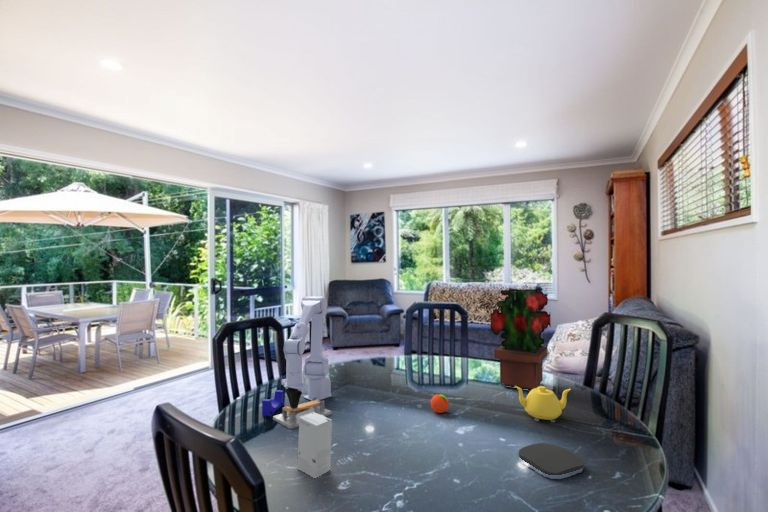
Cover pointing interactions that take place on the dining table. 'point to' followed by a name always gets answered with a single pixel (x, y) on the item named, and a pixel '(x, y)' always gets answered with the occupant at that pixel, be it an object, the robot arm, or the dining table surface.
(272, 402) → the blue notched block
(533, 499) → the dining table surface
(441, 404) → the clementine
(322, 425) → the skincare box
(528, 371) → the potted plant
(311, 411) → the mount
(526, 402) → the teapot
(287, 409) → the light brown wooden bar
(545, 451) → the media streaming box
